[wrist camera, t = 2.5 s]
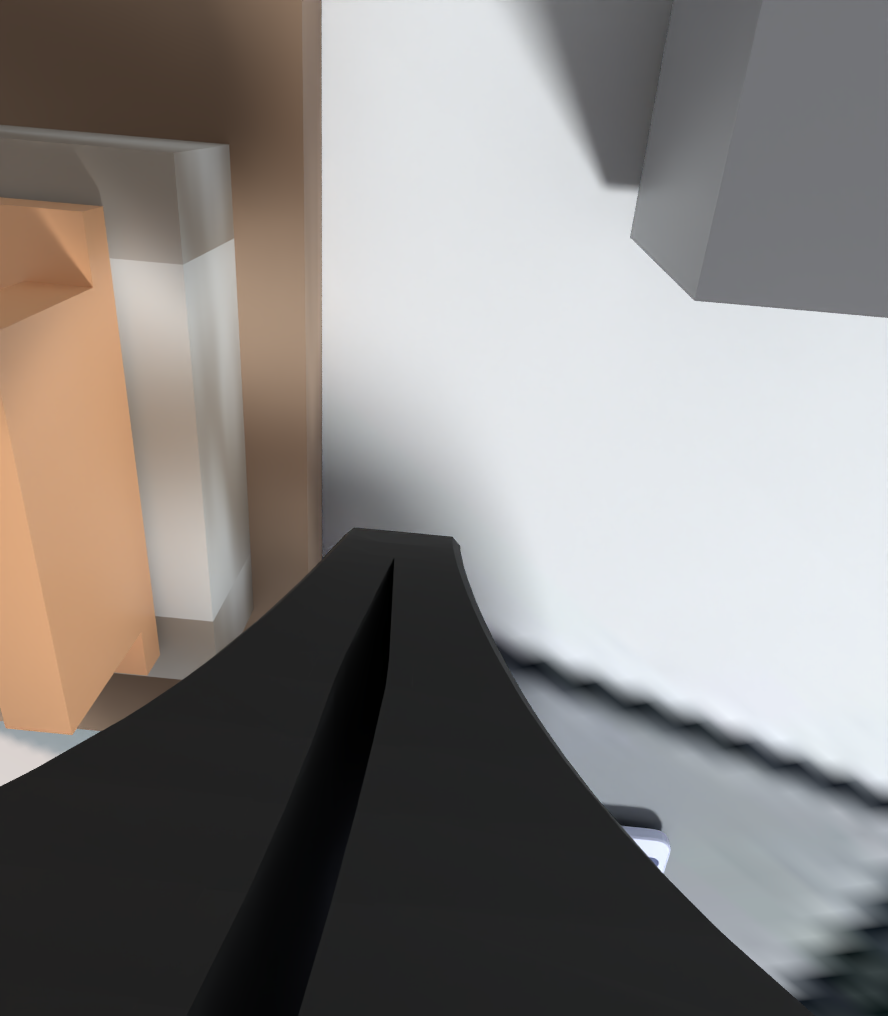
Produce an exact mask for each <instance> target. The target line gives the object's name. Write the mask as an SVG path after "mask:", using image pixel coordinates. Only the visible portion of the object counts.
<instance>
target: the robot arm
mask: <svg viewBox="0 0 888 1016" xmlns="http://www.w3.org/2000/svg"><path fill="white" fill-rule="evenodd" d="M669 855H670V843H669V839H668V837H667V835H666V834H665V833H663V832H662V831H660V830H656V829H649V828H639V827H629V826H621V825H620V824H619V823H618V822H617V821H616V819H615V818H614V817H613V816H612V815H611V814H610V813H609V812H608V810H607V809H606V808H605V807H604V806H603V805H602V804H601V802H600V801H599V800H598V799H597V798H596V796H595V795H594V794H593V792H592V791H591V790H590V789H589V787H588V786H587V785H586V783H585V782H584V781H583V779H582V778H581V777H580V776H579V774H578V773H577V772H576V770H575V769H574V768H573V766H572V765H571V764H570V763H569V761H568V760H567V759H566V757H565V756H564V754H563V753H562V752H561V750H560V749H559V747H558V746H557V745H556V743H555V742H554V740H553V739H552V737H551V736H550V735H549V733H548V732H547V730H546V729H545V727H544V726H543V724H542V723H541V721H540V720H539V718H538V717H537V715H536V714H535V712H534V711H533V709H532V707H531V706H530V704H529V703H528V701H527V699H526V698H525V696H524V695H523V693H522V691H521V689H520V688H519V686H518V684H517V682H516V681H515V679H514V677H513V676H512V674H511V672H510V670H509V669H508V667H507V665H506V663H505V661H504V659H503V658H502V656H501V654H500V652H499V650H498V648H497V646H496V644H495V642H494V640H493V638H492V636H491V633H490V631H489V629H488V627H487V625H486V623H485V621H484V619H483V616H482V614H481V612H480V610H479V607H478V605H477V603H476V600H475V598H474V595H473V592H472V590H471V587H470V584H469V582H468V579H467V576H466V572H465V569H464V566H463V562H462V557H461V552H460V545H459V544H458V543H457V542H456V541H455V539H454V538H453V537H449V536H438V535H427V534H417V533H406V532H395V531H385V530H374V529H364V528H353V529H352V530H351V531H349V532H348V533H347V534H346V535H344V537H343V538H342V539H341V540H340V541H339V542H338V543H337V544H336V545H335V546H334V547H333V548H332V549H331V550H330V551H329V552H328V554H327V555H326V556H325V557H324V558H323V559H322V560H321V561H320V562H319V563H318V564H317V565H316V566H315V567H314V568H313V569H312V570H311V571H310V572H309V573H308V574H307V575H306V576H305V577H304V578H303V579H302V580H301V581H300V582H299V583H298V584H297V585H295V586H294V587H293V588H292V589H291V590H290V591H289V592H288V593H287V594H286V595H285V596H284V597H283V598H281V599H280V600H279V601H278V602H277V603H276V604H275V605H274V606H273V607H272V608H271V609H270V610H269V611H267V612H266V613H265V614H264V615H263V616H262V617H261V618H260V619H258V620H257V621H256V622H255V623H254V624H252V625H251V626H250V627H249V628H248V629H246V630H245V631H244V632H243V633H241V634H240V635H239V636H238V637H237V638H235V639H234V640H233V641H232V642H230V643H229V644H228V645H227V646H226V647H224V648H223V649H222V650H221V651H219V652H218V653H217V654H216V655H215V656H213V657H212V658H211V659H209V660H208V661H207V662H206V663H204V664H203V665H202V666H200V667H199V668H197V669H196V670H195V671H193V672H192V673H191V674H189V675H188V676H187V677H185V678H184V679H183V680H181V681H180V682H178V683H177V684H175V685H174V686H173V687H171V688H170V689H168V690H167V691H165V692H164V693H162V694H161V695H159V696H158V697H156V698H155V699H153V700H152V701H150V702H149V703H147V704H146V705H144V706H143V707H141V708H140V709H138V710H136V711H135V712H133V713H132V714H130V715H128V716H127V717H125V718H124V719H122V720H120V721H118V722H117V723H115V724H113V725H111V726H109V727H108V728H106V729H104V730H102V731H101V732H99V733H97V734H95V735H94V736H92V737H90V738H88V739H87V740H85V741H83V742H81V743H80V744H78V745H76V746H74V747H73V748H71V749H69V750H67V751H66V752H64V753H62V754H60V755H59V756H57V757H55V758H53V759H52V760H50V761H48V762H46V763H45V764H43V765H41V766H39V767H37V768H36V769H34V770H32V771H30V772H28V773H26V774H24V775H22V776H20V777H18V778H16V779H15V780H12V781H10V782H8V783H6V784H4V785H2V786H0V1016H815V1015H814V1014H812V1013H811V1012H810V1011H809V1010H808V1009H807V1008H806V1007H805V1006H803V1005H802V1004H801V1003H800V1002H799V1001H798V1000H797V999H796V998H794V997H793V996H792V995H791V994H790V993H789V992H788V991H787V990H785V989H784V988H783V987H782V986H781V985H780V984H779V983H778V982H776V981H775V980H774V979H773V978H772V977H771V976H770V975H768V974H767V973H766V972H765V971H764V970H763V969H762V968H761V967H759V966H758V965H757V964H756V963H755V962H754V961H753V960H752V959H750V958H749V957H748V956H747V955H746V954H745V953H744V952H743V951H741V950H740V949H739V948H738V947H737V946H736V945H735V944H734V943H732V942H731V941H730V940H729V939H728V938H727V937H726V936H725V935H724V934H723V933H722V932H721V931H720V930H719V929H717V928H716V927H715V926H714V925H713V924H712V923H711V922H710V921H709V920H708V919H707V918H706V917H705V916H704V915H703V914H702V913H701V912H700V911H699V910H698V909H697V908H696V907H695V906H694V905H693V904H692V903H691V902H690V901H689V900H688V899H687V898H686V897H685V896H684V895H683V894H682V893H681V892H680V891H679V890H678V889H677V888H676V887H675V885H674V884H673V883H672V882H671V881H670V880H669V879H668V878H667V877H666V876H665V875H664V874H663V873H664V870H665V867H666V864H667V861H668V858H669Z"/></svg>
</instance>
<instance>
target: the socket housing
mask: <svg viewBox="0 0 888 1016" xmlns="http://www.w3.org/2000/svg"><path fill="white" fill-rule="evenodd" d="M0 197H3V198H14V199H25V200H37V201H48V202H60V203H71V204H82V205H94V206H103V211H104V219H105V226H106V234H107V242H108V250H109V258H110V266H111V273H112V281H113V289H114V297H115V305H116V313H117V320H118V328H119V336H120V344H121V352H122V360H123V367H124V375H125V383H126V391H127V399H128V407H129V415H130V422H131V430H132V438H133V446H134V454H135V462H136V469H137V477H138V485H139V493H140V501H141V509H142V516H143V524H144V532H145V540H146V548H147V556H148V563H149V571H150V579H151V587H152V595H153V603H154V611H155V618H156V626H157V634H158V642H159V650H160V656H159V657H158V659H157V661H156V662H155V664H154V666H153V667H152V669H151V671H150V672H149V674H148V676H146V675H136V674H126V673H115V672H114V673H113V675H112V676H111V678H110V679H109V681H108V682H107V684H106V685H105V687H104V688H103V690H102V691H101V693H100V694H99V696H98V697H97V699H96V700H95V702H94V703H93V705H92V706H91V708H90V709H89V711H88V712H87V714H86V715H85V717H84V718H83V720H82V721H81V723H80V724H79V726H78V727H77V729H86V730H96V731H102V730H104V729H106V728H108V727H109V726H111V725H113V724H115V723H117V722H118V721H120V720H122V719H124V718H125V717H127V716H128V715H130V714H132V713H133V712H135V711H136V710H138V709H140V708H141V707H143V706H144V705H146V704H147V703H149V702H150V701H152V700H153V699H155V698H156V697H158V696H159V695H161V694H162V693H164V692H165V691H167V690H168V689H170V688H171V687H173V686H174V685H175V684H177V683H178V682H180V681H181V680H183V679H184V678H185V677H187V676H188V675H189V674H191V673H192V672H193V671H195V670H196V669H197V668H199V667H200V666H202V665H203V664H204V663H206V662H207V661H208V660H209V659H211V658H212V657H213V656H215V655H216V654H217V653H218V652H219V651H221V650H222V649H223V648H224V647H226V646H227V645H228V644H229V643H230V642H232V641H233V640H234V639H235V638H237V637H238V636H239V635H240V634H241V633H243V632H244V631H245V630H246V629H248V628H249V627H250V626H251V625H252V624H254V623H255V622H256V621H257V620H258V619H260V618H261V617H262V616H263V615H264V614H265V613H266V612H267V611H269V610H270V609H271V608H272V607H273V606H274V605H275V604H276V603H277V602H278V601H279V600H280V599H281V598H283V597H284V596H285V595H286V594H287V593H288V592H289V591H290V590H291V589H292V588H293V587H294V586H295V585H297V584H298V583H299V582H300V581H301V580H302V579H303V578H304V577H305V576H306V575H307V574H308V573H309V572H310V571H311V570H312V569H313V568H314V567H315V566H316V565H317V564H318V563H319V562H320V561H321V560H322V134H321V0H0ZM0 721H4V720H3V716H2V712H1V708H0Z"/></svg>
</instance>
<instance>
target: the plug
mask: <svg viewBox="0 0 888 1016" xmlns="http://www.w3.org/2000/svg"><path fill="white" fill-rule="evenodd" d="M630 238H631V239H633V240H634V241H635V242H636V243H637V244H638V245H639V246H640V247H641V248H642V249H643V250H644V251H645V252H646V253H647V254H648V255H649V256H650V257H651V258H652V259H653V260H654V261H655V262H656V263H657V264H658V265H659V266H660V267H661V268H662V269H663V270H664V271H665V272H666V273H667V274H668V275H669V276H670V277H671V278H672V279H673V280H674V281H675V282H676V283H677V284H678V285H679V286H680V287H681V288H682V289H683V290H684V291H685V292H686V293H687V294H688V295H689V296H690V297H691V298H692V299H693V300H694V301H705V302H716V303H728V304H739V305H750V306H761V307H773V308H784V309H795V310H806V311H818V312H829V313H840V314H852V315H863V316H874V317H885V318H888V0H673V4H672V9H671V15H670V20H669V26H668V31H667V37H666V42H665V48H664V53H663V59H662V65H661V70H660V76H659V81H658V87H657V92H656V98H655V103H654V109H653V114H652V120H651V125H650V131H649V136H648V142H647V147H646V153H645V158H644V164H643V169H642V175H641V181H640V186H639V192H638V197H637V203H636V208H635V214H634V219H633V225H632V230H631V236H630Z"/></svg>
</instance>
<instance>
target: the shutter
mask: <svg viewBox="0 0 888 1016" xmlns="http://www.w3.org/2000/svg"><path fill="white" fill-rule="evenodd" d="M159 656H160V650H159V642H158V634H157V626H156V618H155V611H154V603H153V595H152V587H151V579H150V571H149V563H148V556H147V548H146V540H145V532H144V524H143V516H142V509H141V501H140V493H139V485H138V477H137V469H136V462H135V454H134V446H133V438H132V430H131V422H130V415H129V407H128V399H127V391H126V383H125V375H124V367H123V360H122V352H121V344H120V336H119V328H118V320H117V313H116V305H115V297H114V289H113V281H112V273H111V266H110V258H109V250H108V242H107V234H106V226H105V219H104V211H103V206H94V205H82V204H71V203H60V202H48V201H37V200H25V199H14V198H3V197H0V708H1V712H2V716H3V720H4V724H5V727H6V728H8V729H18V730H28V731H38V732H48V733H58V734H68V735H73V733H74V732H75V730H76V729H77V727H78V726H79V724H80V723H81V721H82V720H83V718H84V717H85V715H86V714H87V712H88V711H89V709H90V708H91V706H92V705H93V703H94V702H95V700H96V699H97V697H98V696H99V694H100V693H101V691H102V690H103V688H104V687H105V685H106V684H107V682H108V681H109V679H110V678H111V676H112V675H113V673H114V672H115V673H126V674H136V675H146V676H148V674H149V672H150V671H151V669H152V667H153V666H154V664H155V662H156V661H157V659H158V657H159Z"/></svg>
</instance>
